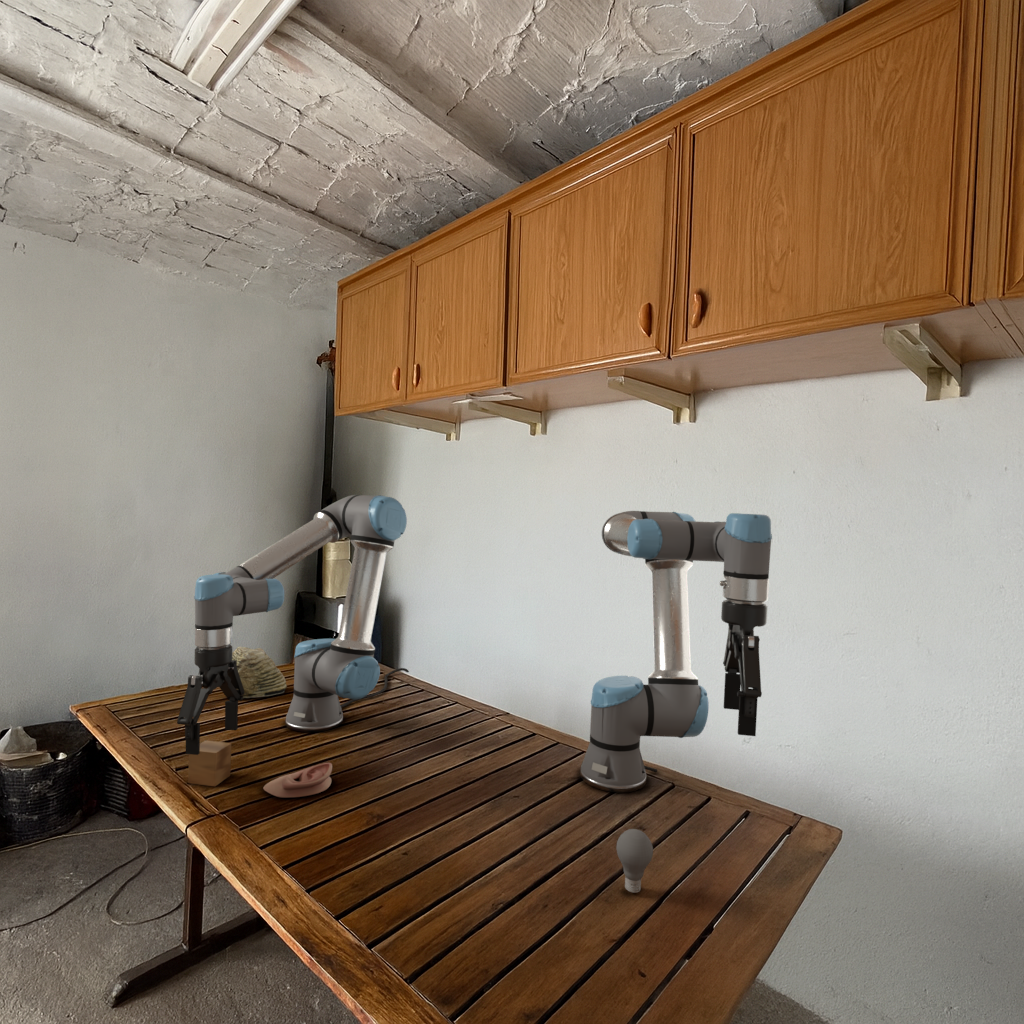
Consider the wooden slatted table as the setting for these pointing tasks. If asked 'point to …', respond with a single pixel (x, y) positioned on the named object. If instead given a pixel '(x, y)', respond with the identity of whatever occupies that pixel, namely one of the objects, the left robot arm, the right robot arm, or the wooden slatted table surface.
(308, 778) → the anatomical model
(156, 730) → the wooden slatted table surface
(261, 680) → the fossil
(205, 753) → the block
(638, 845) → the light bulb
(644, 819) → the wooden slatted table surface
